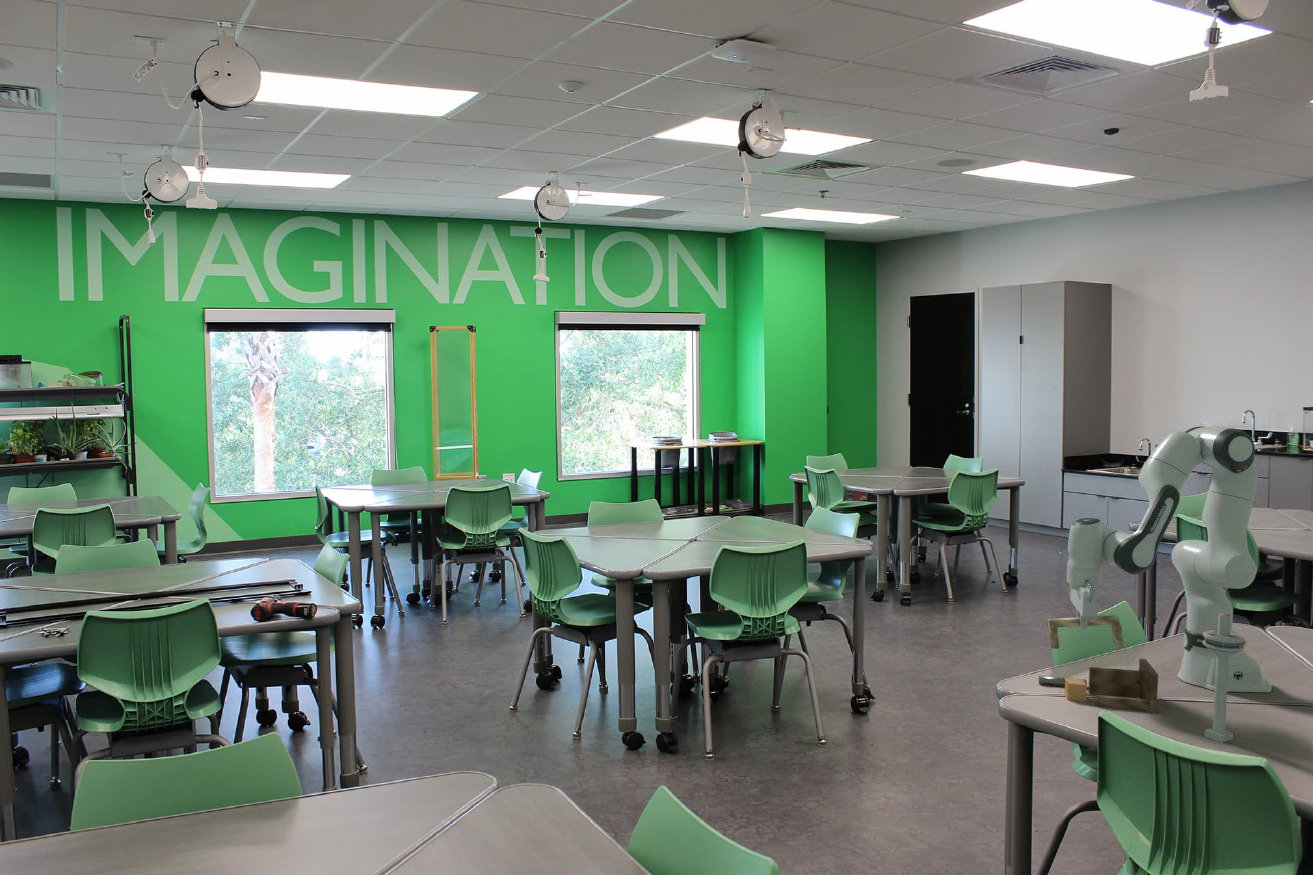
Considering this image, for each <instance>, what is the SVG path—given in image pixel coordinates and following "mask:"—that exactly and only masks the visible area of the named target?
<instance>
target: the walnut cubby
mask: <svg viewBox="0 0 1313 875" xmlns="http://www.w3.org/2000/svg"><path fill="white" fill-rule="evenodd" d="M1138 661H1139V662H1138V665H1139V666H1138V670H1136V669H1135V670H1134V669H1123V668H1110V667H1109V668H1107V667H1094V666H1089V668H1088V669H1089V670H1088V672H1089V674H1088V693H1089V695H1095V706H1096V707H1099V708H1100V707H1103V708H1113V709H1115V708H1116V709H1125V710H1135V711H1136V710H1138V711H1149V712H1150V713H1155V714H1156V713H1157V709H1158V708H1157V707H1158V693H1159V692H1158V690H1159V689H1158V688H1159V687H1158V686H1159V673H1158V672H1157V671H1156V670H1155V669H1154V668H1153V666H1152V665H1151V663H1150V662H1149V661H1148V660H1147V659H1146V658H1139V660H1138Z"/></svg>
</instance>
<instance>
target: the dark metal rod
mask: <svg viewBox="0 0 1313 875" xmlns="http://www.w3.org/2000/svg"><path fill="white" fill-rule="evenodd" d="M1065 678H1066V677H1056V676H1042V675H1039V676H1038V685H1040V686H1041V685H1042V686H1052V687H1064V688H1065ZM1069 679H1073V678H1072V677H1071V678H1070V677H1069ZM1081 679H1082V680H1084V682H1085V683H1086V688H1087V685H1088V683H1087V679H1083V678H1081Z"/></svg>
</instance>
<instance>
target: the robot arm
mask: <svg viewBox="0 0 1313 875" xmlns="http://www.w3.org/2000/svg"><path fill="white" fill-rule="evenodd" d="M1255 451H1256V447H1255V442H1254V440H1253V437H1252V436H1251V435H1250V434H1249V433H1248V432H1245V431H1244V430H1242V429H1239V428H1234V427H1231V428H1230V427H1225V426H1218V425H1217V426H1216V425H1215V426H1195V427H1191V428H1189V429H1186V430H1185V431H1181V430H1176V431H1171V432H1170V433H1168V434H1167V435H1166V436H1165V437H1164V438H1163V439H1161V441H1160V442H1159V443H1158V444H1157V446H1155V448H1154V450H1152V452H1151V453H1150V454H1149V456H1148V458H1147V459H1146V461H1145V462H1144V463H1143V465H1142V467H1141V469H1140V471H1139V473H1138V477H1137V479H1138V484H1139V486H1140V489H1141V490H1142V492H1143V493H1144V494H1145V495H1146V496H1147V498H1148V501H1149V502H1148V503H1149V504H1148V508H1147V510H1146V512H1145V514H1144V516H1143V518H1142V520H1141V522H1140V523H1139V525H1138V528H1137V530H1136V531H1134V532H1133V533H1131V534H1130V533H1127V532H1125V531H1122V530H1118V529H1116V528H1114V527H1112V526H1109V525H1107V524H1105V523H1104V522H1102V520H1100V519H1099V518H1095V517H1084V518H1079V519H1076V520H1075V521H1073V522H1072V523H1071V526H1070V528H1069V533H1068V540H1067V542H1068V543H1067V551H1068V559H1067V560H1068V561H1067V564H1066V567H1067V568H1066V582H1067V583H1068V589H1069V590H1068V591H1069V599H1070V602H1071V603H1072V605H1073V606H1074V607H1075V609H1076V617H1080V626H1079V627H1080V628H1081V629H1087V628H1088V620H1089V618H1093V619H1094V618H1096V616H1098V593H1097V587H1100V586H1102V581H1103V580H1102V579H1103V578H1102V577H1103V565H1104V564H1109V565H1111V566H1114V567H1116V568H1119V569H1120V570H1122V571H1124V572H1126V573H1128V574H1130V575H1141V574H1144V573H1145V572H1148V571H1149V570H1150V569H1151V568H1152V567H1153V566H1154V564H1155V562H1156V558H1157V556H1158V551H1159V546H1160V543H1161V541H1162V539H1163V537H1164V535H1165V533H1166V531H1167V529H1168V527H1169V525H1170V523H1171V521H1172V520H1173V517H1174V514H1175V513H1176V512H1177V508H1178V506H1179V504H1180V503H1179V502H1180V497H1181V496H1180V495H1181V494H1180V493H1181V492H1182V489H1183V487H1184V485H1185V483H1186V482H1187V480H1188V478H1189V476H1190V475H1191V474H1192V472H1193V470H1194V469H1195V467H1196V466H1198V465H1203V466H1206V467H1207V466H1208V467H1211V470H1212V479H1211V482H1210V486H1209V489H1208V492H1207V496H1206V500H1205V503H1204V506H1203V510H1202V513H1201V520H1202V522H1203V524H1204V525H1205V527H1206V530H1207V541H1206V540H1201V539H1184V540H1180V541H1179V542H1177V543H1176V544H1175V546H1174V547H1173V549H1172V551H1171V555H1170V556H1171V557H1170V558H1171V562H1172V565H1173V566H1174V568H1175V569H1176V570H1177V572H1178V573H1179V576H1180V578H1181V582H1182V585H1183V588H1184V593H1185V596H1186V627H1185V628H1184V633H1183V648H1184V651H1183V657H1182V661H1181V665H1180V668H1179V671H1178V673H1177V678H1179V680H1181V681H1183V682H1185V683H1188V684H1191V685H1194V686H1198V687H1202V688H1205V689H1208V690H1210V691H1214V692H1215V675H1216V655H1215V654H1214V653H1213V652H1212V651H1211V650H1209V649H1208V648H1207V647H1206V646H1205V645H1204V644H1203V640H1205V639H1204V636H1203V632H1204V631H1205V630H1207V629H1218V614H1219V613H1225V614H1230V615H1231V622H1230V631H1233V620H1234V619H1233V618H1234V616H1233V615H1234V607H1233V604H1232V602H1231V601H1230V599H1229V598H1228V597H1227V595H1226V593H1225V590H1224V589H1237V590H1238V589H1240V590H1241V589H1244V588H1247V587H1249V586H1250V585H1251V584H1252V583H1253V582H1254V580H1255V578H1256V575H1257V565H1256V562H1255V561H1254V559H1253V558H1252V556H1251V553H1250V550H1249V546H1248V537H1247V536H1248V534H1247V532H1248V525H1249V521H1250V516H1251V512H1252V510H1253V509H1252V508H1253V505H1254V501H1255V498H1256V492H1257V487H1258V478H1259V472H1258V471H1259V470H1258V467H1257V465H1256V464H1255V463H1254V461H1255V455H1256V454H1255V453H1256V452H1255ZM1246 644H1247V642H1246V640H1244V642H1243V644H1242V645H1243V646H1244V647H1245V645H1246ZM1272 688H1273V687H1272V685H1271V683H1270V681H1268V680H1266V678H1263V671H1262V668H1261V666H1260V664H1259V663H1258V662H1257V661H1256V660H1255V659H1254V658H1253V657H1252V656H1250V655H1249V654H1248V653H1247V652H1245V651H1244V649H1243V650H1241V651H1239V652H1238V653H1236V654H1234V655H1232V656H1230V657H1229V662H1228V682H1227V693H1229V692H1231V693H1233V692H1234V693H1235V692H1236V693H1237V692H1238V693H1271V692H1272V690H1273V689H1272Z"/></svg>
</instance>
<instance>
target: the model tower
mask: <svg viewBox="0 0 1313 875" xmlns="http://www.w3.org/2000/svg"><path fill="white" fill-rule="evenodd" d="M1230 622H1231V615H1230V614H1225V613H1219V614H1218V629H1207V630H1205V631H1204V632H1203V636H1204V639H1205V640H1203V644H1204V645H1205V646H1206V647H1207V648H1208V649H1209V650H1211V651H1212V652H1213V653H1214V654H1215V655H1216V675H1215V691H1214V694H1213V695H1214V698H1213V700H1214V701H1213V703H1214V704H1213V719H1212V721H1213V722H1212V727H1211V728H1206V729H1204V737H1205V738H1208V739H1210V740H1212V741H1216V742H1218V743H1220V744H1221V743H1222V744H1223V743H1227V742H1228V741H1232V740H1233V737H1234V735H1233V734H1234V732H1231V731H1229V730H1226V722H1227V721H1226V718H1227V717H1226V716H1227V702H1228V701H1227V699H1228V698H1227V697H1228V692H1227V682H1228V662H1229V657H1230V656H1232V655H1234V654H1236V653H1238V652H1239V651H1241V650H1243V651H1244V649H1245V646H1243V645H1242V644H1243V642H1244V641H1245V637H1244V635H1243V634H1242V633H1240V632H1237V631H1233V630H1232V631H1230Z"/></svg>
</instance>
